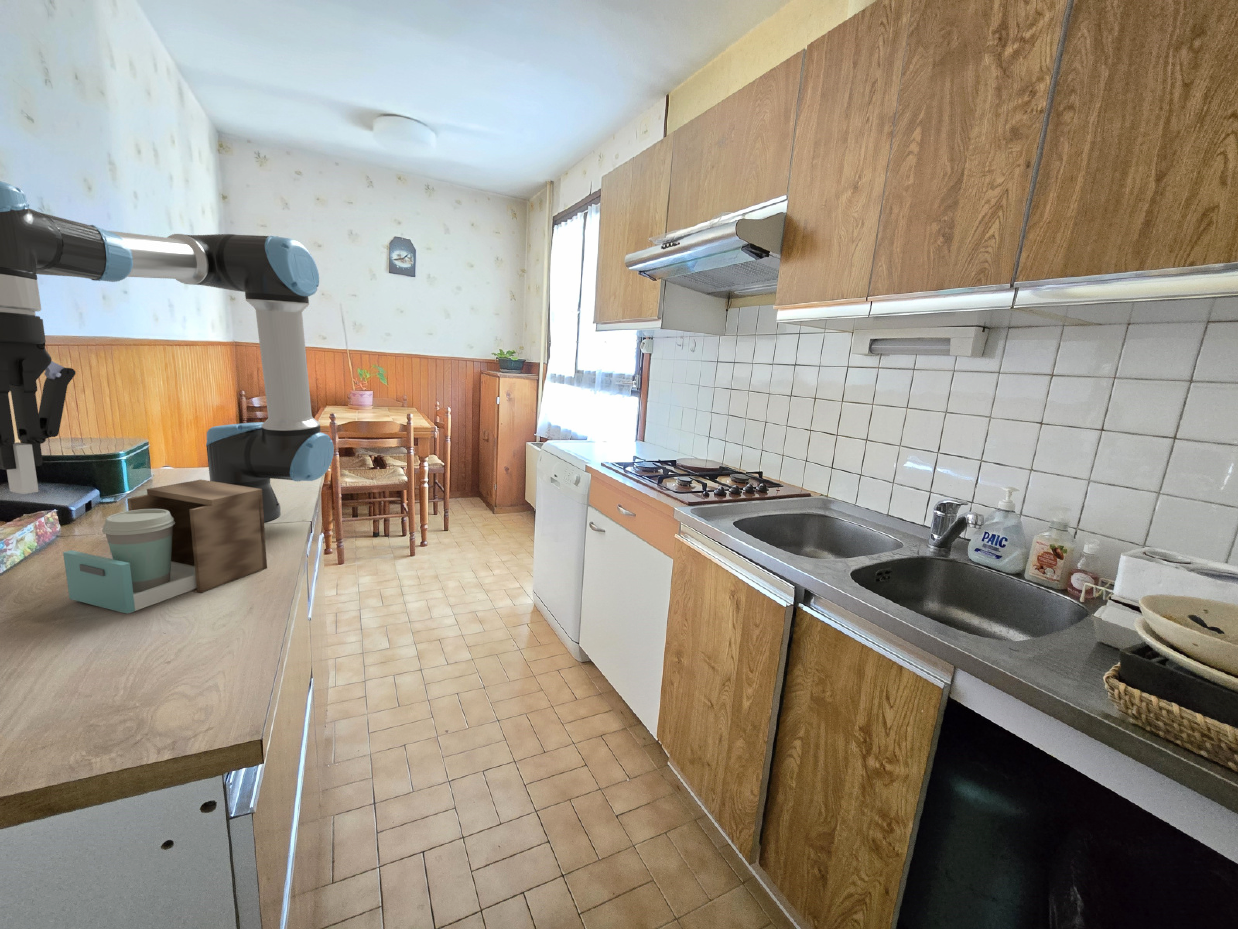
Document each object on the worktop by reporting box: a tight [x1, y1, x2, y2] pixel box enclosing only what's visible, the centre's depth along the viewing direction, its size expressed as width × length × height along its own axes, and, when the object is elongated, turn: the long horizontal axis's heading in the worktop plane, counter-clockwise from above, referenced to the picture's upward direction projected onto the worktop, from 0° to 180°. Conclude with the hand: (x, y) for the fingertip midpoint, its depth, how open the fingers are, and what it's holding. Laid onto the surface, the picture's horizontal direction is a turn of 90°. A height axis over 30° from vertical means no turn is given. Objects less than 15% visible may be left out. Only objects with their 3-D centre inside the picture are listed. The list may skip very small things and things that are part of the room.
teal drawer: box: [62, 549, 197, 614], centre depth 82 cm, size 12×13×8 cm
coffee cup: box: [101, 509, 175, 592], centre depth 82 cm, size 8×9×12 cm
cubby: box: [126, 479, 268, 594], centre depth 91 cm, size 12×15×16 cm
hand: (24, 491), depth 68 cm, fingers closed
